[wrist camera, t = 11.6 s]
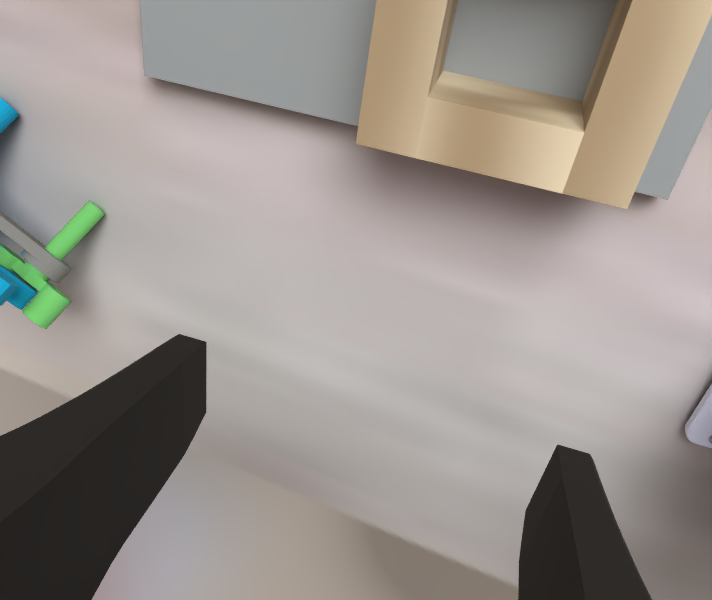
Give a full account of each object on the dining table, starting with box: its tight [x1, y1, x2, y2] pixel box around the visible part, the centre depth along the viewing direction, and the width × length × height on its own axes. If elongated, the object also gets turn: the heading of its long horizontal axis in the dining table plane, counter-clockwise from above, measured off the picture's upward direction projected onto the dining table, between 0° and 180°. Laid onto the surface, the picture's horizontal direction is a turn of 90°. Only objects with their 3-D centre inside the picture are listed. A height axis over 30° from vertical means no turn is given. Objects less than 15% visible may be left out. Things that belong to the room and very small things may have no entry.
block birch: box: [356, 0, 712, 209], centre depth 15 cm, size 7×7×2 cm
